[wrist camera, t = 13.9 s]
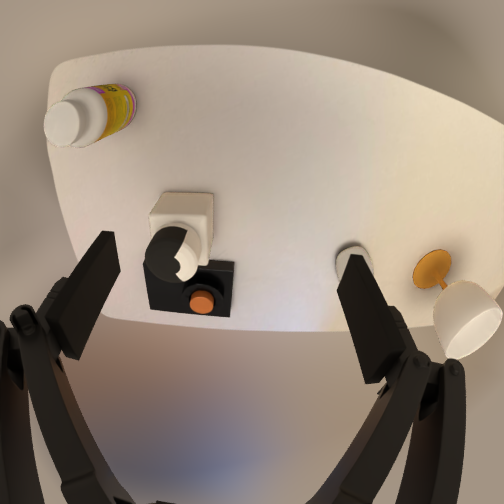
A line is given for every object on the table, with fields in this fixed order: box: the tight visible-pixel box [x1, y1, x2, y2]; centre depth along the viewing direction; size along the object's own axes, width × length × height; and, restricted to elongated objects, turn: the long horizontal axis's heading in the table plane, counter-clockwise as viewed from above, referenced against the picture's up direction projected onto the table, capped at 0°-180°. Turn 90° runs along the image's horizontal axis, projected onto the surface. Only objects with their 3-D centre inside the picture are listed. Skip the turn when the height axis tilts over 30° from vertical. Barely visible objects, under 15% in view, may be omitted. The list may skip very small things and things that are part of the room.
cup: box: [413, 250, 503, 359], centre depth 39 cm, size 12×12×17 cm
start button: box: [190, 290, 214, 314], centre depth 43 cm, size 4×4×2 cm
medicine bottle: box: [145, 192, 213, 283], centre depth 35 cm, size 7×7×12 cm
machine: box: [143, 260, 234, 317], centre depth 45 cm, size 14×10×4 cm
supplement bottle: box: [44, 84, 136, 148], centre depth 25 cm, size 7×7×13 cm
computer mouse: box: [336, 246, 374, 281], centre depth 44 cm, size 6×10×3 cm, turn 25°
